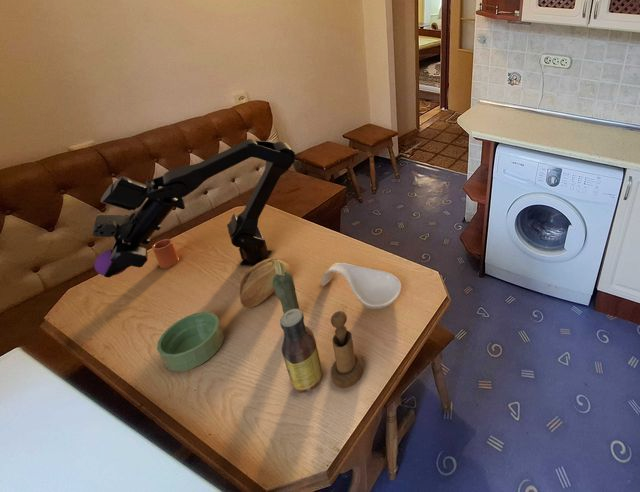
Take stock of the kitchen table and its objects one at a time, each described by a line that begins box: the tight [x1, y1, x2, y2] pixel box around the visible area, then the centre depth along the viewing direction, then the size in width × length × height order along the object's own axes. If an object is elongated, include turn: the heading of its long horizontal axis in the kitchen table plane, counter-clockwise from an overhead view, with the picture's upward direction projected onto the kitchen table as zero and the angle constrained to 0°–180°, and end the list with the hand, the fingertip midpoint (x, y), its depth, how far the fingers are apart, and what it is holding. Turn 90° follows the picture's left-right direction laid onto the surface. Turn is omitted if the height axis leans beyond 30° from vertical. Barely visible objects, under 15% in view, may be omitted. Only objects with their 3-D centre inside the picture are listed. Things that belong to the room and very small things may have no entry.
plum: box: [93, 248, 128, 277], centre depth 87 cm, size 6×6×6 cm
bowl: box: [156, 311, 225, 373], centre depth 81 cm, size 11×11×6 cm
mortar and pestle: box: [330, 310, 364, 389], centre depth 75 cm, size 7×6×18 cm
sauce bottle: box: [279, 308, 324, 394], centre depth 73 cm, size 7×6×20 cm
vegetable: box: [271, 260, 300, 315], centre depth 86 cm, size 4×4×20 cm
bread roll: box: [238, 258, 292, 309], centre depth 97 cm, size 10×15×8 cm, turn 164°
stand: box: [151, 238, 180, 269], centre depth 106 cm, size 5×5×7 cm
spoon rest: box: [320, 262, 402, 310], centre depth 97 cm, size 24×12×7 cm, turn 71°
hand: (107, 269), depth 87 cm, fingers closed on plum, 6 cm apart
